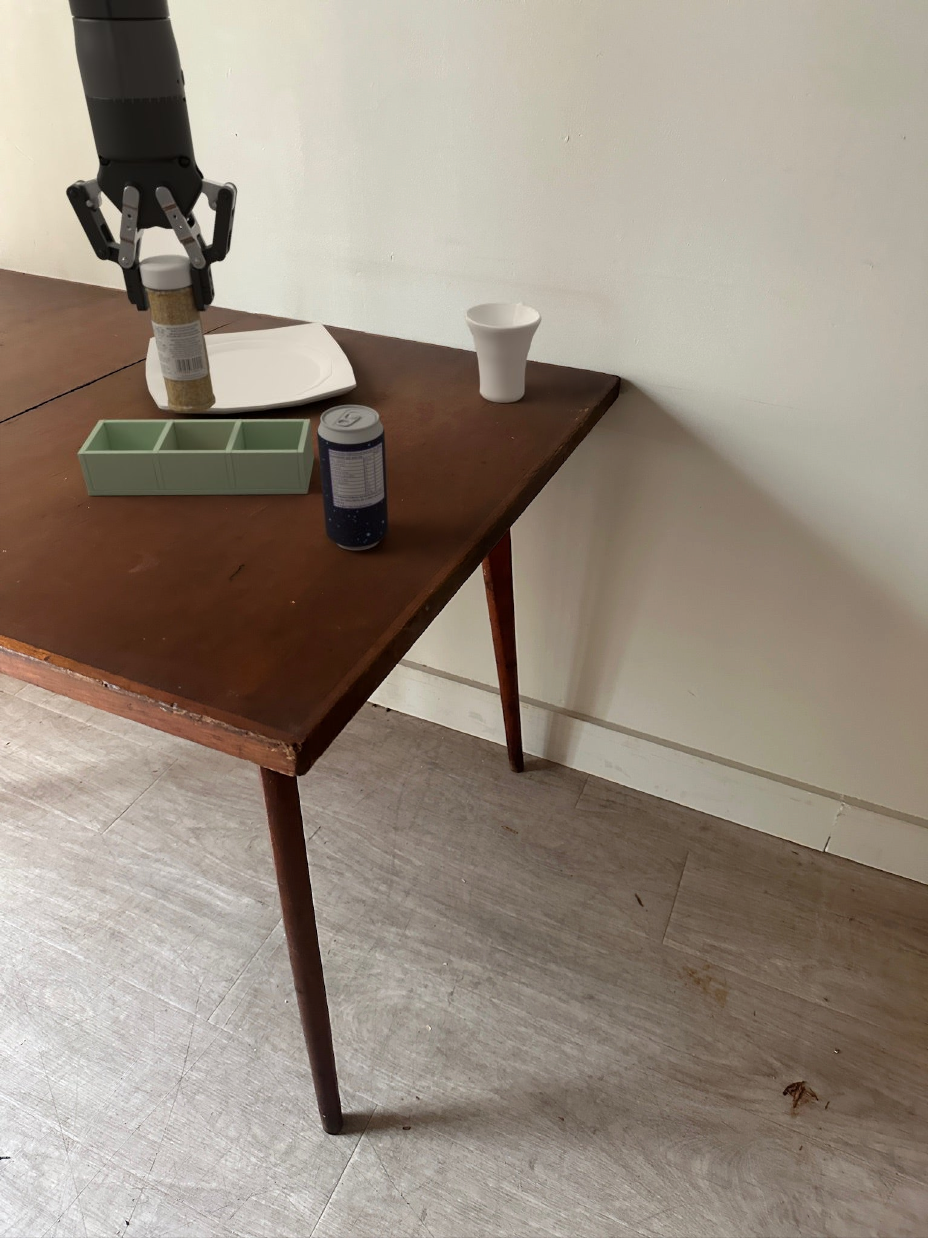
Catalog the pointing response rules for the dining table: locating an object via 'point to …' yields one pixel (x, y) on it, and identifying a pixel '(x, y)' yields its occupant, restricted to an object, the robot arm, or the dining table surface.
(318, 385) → the plate
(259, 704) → the dining table surface
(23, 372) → the dining table surface
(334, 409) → the beverage can
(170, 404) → the spice jar
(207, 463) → the tray
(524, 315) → the cup
